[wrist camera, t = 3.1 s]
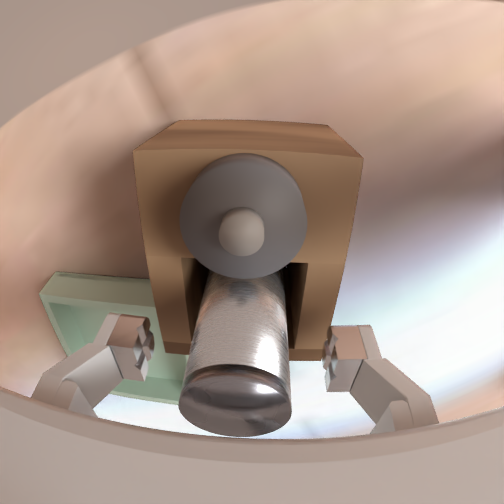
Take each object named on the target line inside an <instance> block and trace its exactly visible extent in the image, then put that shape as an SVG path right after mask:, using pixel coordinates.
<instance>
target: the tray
mask: <svg viewBox="0 0 504 504" xmlns="http://www.w3.org/2000/svg"><path fill="white" fill-rule="evenodd" d="M39 296H40V298H41V301H42V303H43V306H44V308H45V310H46V313H47V315H48V317H49V319H50V322H51V324H52V326H53V328H54V330H55V332H56V334H57V337H58V339H59V341H60V343H61V345H62V347H63V349H64V351H65V353H66V355H67V357H68V356H70V355H71V354H73V353H74V352H76V351H77V350H79V349H80V348H82V347H83V346H85V345H87V344H88V343H93V341H94V339H95V337H96V335H97V333H98V331H99V329H100V327H101V325H102V324H103V322H104V320H105V318H106V316H107V314H109V313H110V312H111V313H118V314H128V315H136V316H144V317H148V318H149V320H150V323H151V326H150V329H149V330H150V331H151V332H152V333H153V336H154V343H155V346H154V353H153V356H152V359H150V360H149V361H148V362H147V363H148V366H149V369H148V372H147V375H146V379H145V382H143V381H135V380H128V379H123V381H122V382H121V383H120V384H119V385H117V386H116V387H115V388H114V389H113V390H112V391H111V392H110V393H109V394H113V395H118V396H123V397H129V398H135V399H141V400H147V401H153V402H160V403H167V404H175V405H178V404H179V398H180V393H181V389H182V384H183V379H184V375H185V370H186V366H187V361H188V357H189V355H181V354H171V353H165V349H164V344H163V340H162V336H161V331H160V327H159V322H158V318H157V313H156V308H155V303H154V298H153V293H152V288H151V282H150V279H141V278H127V277H114V276H101V275H89V274H77V273H66V272H55V273H54V275H53V276H52V277H51V278H50V280H49V281H48V282H47V283H46V285H45V286H44V287H43V289H42V290H41V291H40V292H39Z"/></svg>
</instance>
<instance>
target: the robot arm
mask: <svg viewBox="0 0 504 504" xmlns="http://www.w3.org/2000/svg"><path fill="white" fill-rule="evenodd" d="M150 326H151V323H150V320H149V318H148V317H144V316H136V315H128V314H118V313H111V312H110V313H109V314H107V316H106V318H105V320H104V322H103V324H102V325H101V327H100V329H99V331H98V333H97V335H96V337H95V339H94V341H93V343H88V344H87V345H85V346H83V347H82V348H80V349H79V350H77V351H76V352H74V353H73V354H71V355H70V356H68V357H67V358H65V359H64V360H62V361H61V362H59V363H58V364H56V365H55V366H53V367H52V368H50V369H49V370H47V371H46V372H44V373H43V375H42V377H41V379H40V381H39V383H38V384H37V386H36V388H35V390H34V392H33V394H32V396H31V398H29V397H27V396H24V395H21V394H18V393H16V392H13V391H10V390H8V389H5V388H3V387H0V504H504V406H503V407H500V408H497V409H493V410H490V411H486V412H483V413H479V414H476V415H472V416H468V417H464V418H460V419H456V420H452V421H447V422H443V423H439V421H438V418H437V415H436V412H435V409H434V406H433V403H432V400H431V397H430V395H429V394H427V393H426V392H425V391H424V390H423V389H421V388H420V387H419V386H418V385H417V384H416V383H414V382H413V381H412V380H411V379H410V378H409V377H407V376H406V375H405V374H404V373H403V372H401V371H400V370H399V369H398V368H397V367H396V366H394V365H393V364H392V363H391V362H390V361H388V360H387V359H386V358H383V359H382V356H381V353H380V350H379V347H378V344H377V341H376V338H375V335H374V332H373V329H372V327H371V326H370V325H341V326H329V327H328V330H327V333H326V334H327V339H328V340H326V341H325V342H324V345H323V352H322V362H323V368H324V369H326V370H327V371H326V374H325V383H326V390H327V392H350V394H351V395H352V396H353V397H354V399H355V400H356V401H357V402H358V403H359V405H360V406H361V407H362V408H363V409H364V411H365V412H366V413H367V414H368V415H369V416H370V418H371V419H372V420H373V421H374V422H375V424H376V426H375V427H374V428H373V430H372V431H371V433H370V434H368V435H359V436H347V437H334V438H315V439H250V438H231V437H217V436H206V435H196V434H187V433H179V432H171V431H164V430H158V429H152V428H146V427H140V426H135V425H130V424H125V423H120V422H115V421H110V420H106V419H102V418H98V416H97V415H96V413H95V412H94V410H93V408H94V407H95V406H96V405H97V404H98V403H99V402H100V401H101V400H103V399H104V398H105V397H106V396H107V395H108V394H109V393H110V392H111V391H112V390H113V389H114V388H115V387H116V386H117V385H119V384H120V383H121V382H122V381H123V379H128V380H135V381H143V382H145V379H146V375H147V372H148V369H149V366H148V363H147V362H148V361H149V360H150V359H152V356H153V353H154V346H155V343H154V336H153V333H152V332H151V331H150V330H149V329H150Z"/></svg>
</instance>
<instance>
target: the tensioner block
mask: <svg viewBox="0 0 504 504" xmlns="http://www.w3.org/2000/svg"><path fill="white" fill-rule="evenodd" d="M363 159H364V158H363V157H362V156H361V155H360V154H359V153H358V152H357V151H356V150H354V149H353V148H352V147H351V146H350V145H349V144H348V143H347V142H346V141H345V140H344V139H343V138H341V137H340V136H339V135H338V134H337V133H336V132H335V131H334V130H332V129H331V128H330V127H329V126H328V125H319V124H308V123H295V122H279V121H257V120H179V121H178V122H176V123H174V124H173V125H171V126H170V127H168V128H166V129H165V130H163V131H162V132H160V133H158V134H157V135H155V136H154V137H152V138H151V139H149V140H148V141H146V142H145V143H143V144H142V145H140V146H139V147H137V148H136V149H134V150H133V160H134V171H135V180H136V189H137V198H138V206H139V213H140V221H141V228H142V235H143V241H144V248H145V254H146V260H147V266H148V271H149V277H150V282H151V288H152V293H153V298H154V303H155V308H156V313H157V318H158V322H159V327H160V331H161V336H162V340H163V344H164V349H165V353H171V354H181V355H189V352H190V348H191V344H192V339H193V335H194V331H195V327H196V322H197V318H198V314H199V310H200V306H201V301H202V297H203V293H204V289H205V285H206V281H207V277H208V273H209V269H210V270H212V271H214V272H216V273H218V274H221V275H224V276H227V277H232V278H239V279H252V278H259V277H263V276H267V275H269V274H272V273H274V272H276V271H278V270H280V269H281V268H283V267H285V266H286V265H287V264H288V269H283V276H284V290H285V304H286V319H287V335H288V352H289V361H321V359H322V352H323V345H324V342H325V341H326V340H327V334H326V333H327V330H328V327H329V326H331V322H332V318H333V314H334V310H335V305H336V301H337V297H338V293H339V288H340V284H341V280H342V275H343V271H344V266H345V261H346V256H347V252H348V247H349V242H350V236H351V231H352V226H353V221H354V215H355V209H356V204H357V198H358V192H359V185H360V179H361V172H362V166H363Z"/></svg>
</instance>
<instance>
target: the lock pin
mask: <svg viewBox="0 0 504 504" xmlns="http://www.w3.org/2000/svg"><path fill="white" fill-rule="evenodd" d="M178 406H179V410H180V412H181V414H182V415H183V416H184V417H185V419H187V420H188V421H189V422H190V423H192V424H193V425H195V426H197V427H199V428H201V429H203V430H206V431H209V432H212V433H215V434H220V435H225V436H233V437H250V436H258V435H263V434H267V433H270V432H273V431H275V430H277V429H279V428H281V427H282V426H284V425H285V424H286V423H287V422H288V421H289V419H290V417H291V413H292V410H291V389H290V370H289V352H288V335H287V319H286V304H285V290H284V276H283V268H281V269H280V270H278V271H276V272H274V273H272V274H269V275H267V276H263V277H259V278H252V279H239V278H232V277H227V276H224V275H221V274H218V273H216V272H214V271H212V270H210V269H209V273H208V277H207V281H206V285H205V289H204V293H203V297H202V301H201V306H200V310H199V314H198V318H197V322H196V327H195V331H194V335H193V339H192V344H191V348H190V352H189V357H188V361H187V366H186V370H185V375H184V379H183V384H182V389H181V393H180V398H179V404H178Z"/></svg>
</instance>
